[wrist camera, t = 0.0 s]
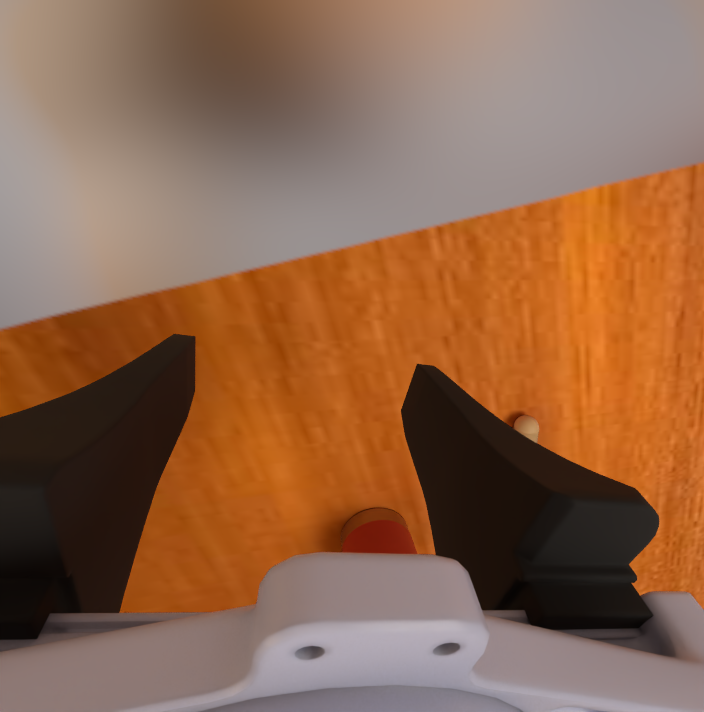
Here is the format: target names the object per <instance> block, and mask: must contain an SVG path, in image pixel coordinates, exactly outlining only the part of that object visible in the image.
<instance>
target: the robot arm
mask: <svg viewBox="0 0 704 712" xmlns="http://www.w3.org/2000/svg"><path fill="white" fill-rule="evenodd" d="M194 392H195V336H187V335H179V334H173V335H172V336H170V337H169V338H167V339H166V340H164V341H163V342H161V343H160V344H158V345H157V346H155V347H154V348H152V349H151V350H149V351H147V352H146V353H144V354H143V355H141V356H140V357H138V358H136V359H135V360H133V361H132V362H130V363H128V364H126V365H125V366H123V367H121V368H119V369H118V370H116V371H114V372H112V373H110V374H109V375H107V376H105V377H103V378H101V379H99V380H97V381H95V382H93V383H91V384H89V385H87V386H85V387H83V388H80V389H78V390H76V391H74V392H71V393H69V394H67V395H64V396H62V397H59V398H56V399H53V400H51V401H48V402H45V403H43V404H40V405H37V406H34V407H32V408H29V409H26V410H23V411H20V412H17V413H13V414H10V415H7V416H4V417H0V712H704V610H703V609H702V608H701V606H700V605H699V604H698V603H697V601H696V600H695V599H694V598H693V596H692V595H691V594H690V593H688V592H682V591H654V592H648V593H645V594H643V595H641V596H640V595H639V594H638V592H637V591H636V589H635V588H634V586H633V585H632V584H631V583H634V582H635V581H636V580H637V576H636V574H635V573H634V571H633V570H632V569H631V567H630V566H629V563H630V562H631V561H632V560H633V559H634V558H635V557H636V556H637V555H638V554H639V553H640V552H641V551H642V550H643V549H644V548H645V547H646V546H647V545H648V544H649V542H650V541H651V540H652V539H653V537H654V536H655V535H656V532H657V529H658V527H659V516H658V514H657V513H656V511H655V510H654V509H653V508H652V507H651V505H650V504H649V503H648V502H647V501H646V500H645V499H644V497H643V496H642V495H641V494H640V493H639V492H638V491H637V490H636V489H635V488H633V487H630V486H628V485H625V484H623V483H620V482H618V481H615V480H613V479H610V478H608V477H605V476H603V475H600V474H598V473H595V472H593V471H591V470H588V469H586V468H584V467H582V466H580V465H578V464H576V463H573V462H571V461H569V460H567V459H565V458H563V457H561V456H559V455H557V454H555V453H554V452H552V451H550V450H548V449H546V448H544V447H543V446H541V445H539V444H537V443H536V442H534V441H532V440H530V439H529V438H527V437H526V436H524V435H522V434H521V433H519V432H518V431H516V430H515V429H513V428H512V427H510V426H509V425H507V424H506V423H504V422H503V421H502V420H500V419H499V418H498V417H496V416H495V415H494V414H492V413H491V412H490V411H488V410H487V409H486V408H484V407H483V406H482V405H481V404H479V403H478V402H477V401H476V400H475V399H473V398H472V397H471V396H470V395H469V394H467V393H466V392H465V391H464V390H463V389H462V388H460V387H459V386H458V385H457V384H456V383H455V382H453V381H452V380H451V379H450V378H449V377H448V376H446V375H445V374H444V373H443V372H441V371H440V370H439V369H438V368H436V367H435V366H430V365H422V364H417V366H416V369H415V371H414V374H413V377H412V380H411V383H410V386H409V389H408V392H407V395H406V398H405V400H404V403H403V406H402V409H401V414H402V420H403V427H404V432H405V437H406V440H407V444H408V447H409V450H410V453H411V456H412V459H413V463H414V466H415V469H416V472H417V475H418V478H419V481H420V484H421V487H422V490H423V494H424V497H425V501H426V505H427V510H428V515H429V520H430V525H431V530H432V535H433V541H434V546H435V552H436V555H430V554H386V553H343V552H317V553H309V554H301V555H295V556H293V557H291V558H289V559H287V560H285V561H283V562H281V563H279V564H277V565H275V566H273V567H272V568H271V569H269V571H268V573H267V574H266V576H265V577H264V579H263V580H262V582H261V583H260V586H259V592H258V598H257V602H256V604H255V605H249V606H244V607H238V608H233V609H228V610H222V611H217V612H189V613H119V611H120V608H121V604H122V600H123V596H124V593H125V589H126V586H127V582H128V579H129V575H130V572H131V568H132V565H133V561H134V558H135V554H136V551H137V548H138V544H139V541H140V538H141V535H142V531H143V528H144V525H145V521H146V518H147V515H148V512H149V509H150V506H151V503H152V500H153V496H154V493H155V490H156V488H157V485H158V483H159V480H160V477H161V475H162V473H163V471H164V468H165V466H166V464H167V462H168V460H169V457H170V455H171V453H172V451H173V448H174V446H175V444H176V442H177V440H178V437H179V435H180V433H181V431H182V428H183V426H184V424H185V421H186V419H187V417H188V413H189V410H190V407H191V403H192V400H193V396H194Z"/></svg>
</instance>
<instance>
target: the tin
mask: <svg viewBox="0 0 704 712" xmlns="http://www.w3.org/2000/svg"><path fill="white" fill-rule="evenodd" d="M341 546H342V552H343V553H386V554H417V552H416V549H415V546H414V543H413V540H412V537H411V535H410V533H409V530H408V527H407V525H406V522H405V520H404V519H403V517H402V516H401V515H399V514H398V513H397V512H395V511H392V510H390V509H385V508H373V509H368V510H365V511H362V512H360V513H358V514H356V515H355V516H353V517H352V518H351V519H350V520H349V521H348V522H347V523H346V524H345V526H344V528H343V530H342V532H341Z"/></svg>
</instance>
